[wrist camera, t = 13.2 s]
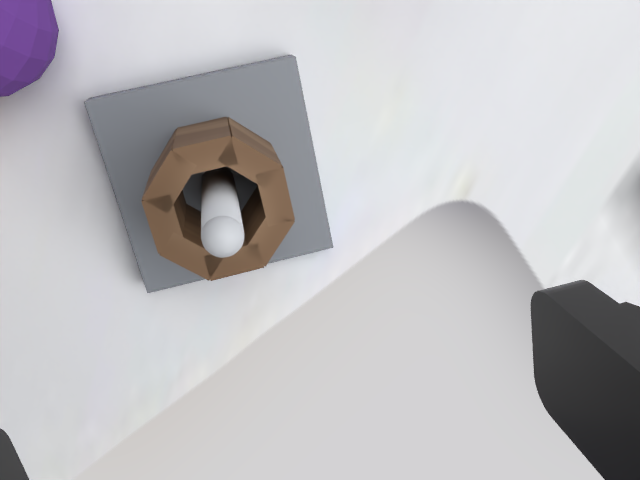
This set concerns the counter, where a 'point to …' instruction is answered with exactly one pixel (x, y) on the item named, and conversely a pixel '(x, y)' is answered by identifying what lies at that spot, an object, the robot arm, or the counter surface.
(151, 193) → the bead
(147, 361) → the counter surface
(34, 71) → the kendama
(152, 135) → the rod stand
